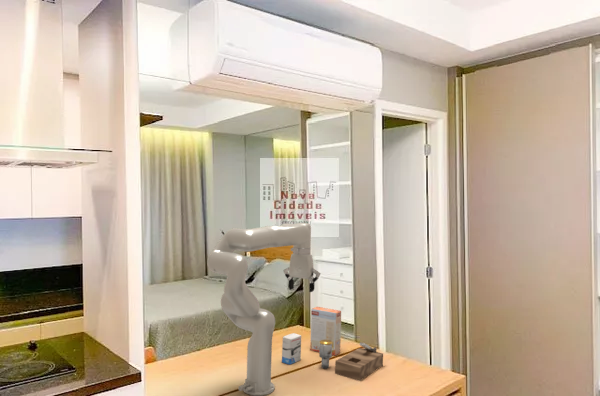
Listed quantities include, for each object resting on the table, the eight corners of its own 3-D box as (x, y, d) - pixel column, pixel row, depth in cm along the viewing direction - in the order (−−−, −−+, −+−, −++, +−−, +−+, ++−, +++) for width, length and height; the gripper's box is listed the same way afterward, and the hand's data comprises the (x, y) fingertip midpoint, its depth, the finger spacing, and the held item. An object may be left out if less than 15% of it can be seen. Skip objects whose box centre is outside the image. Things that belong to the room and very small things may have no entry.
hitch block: (359, 380, 191) (360, 363, 191) (335, 373, 198) (335, 356, 198) (382, 365, 209) (383, 349, 209) (359, 359, 216) (360, 343, 216)
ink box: (289, 365, 206) (290, 339, 206) (281, 362, 209) (282, 336, 209) (301, 360, 213) (301, 334, 212) (292, 357, 216) (293, 332, 215)
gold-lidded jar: (327, 370, 201) (327, 344, 200) (316, 367, 204) (317, 341, 204) (333, 367, 205) (334, 341, 205) (323, 364, 208) (324, 338, 208)
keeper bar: (365, 346, 204) (366, 343, 204) (358, 344, 206) (359, 342, 206) (373, 352, 210) (374, 349, 211) (367, 350, 212) (367, 347, 213)
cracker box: (340, 352, 224) (342, 310, 223) (334, 356, 218) (336, 312, 218) (315, 347, 231) (317, 305, 231) (309, 350, 226) (311, 308, 226)
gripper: (280, 251, 200) (279, 289, 200) (316, 254, 192) (316, 294, 193) (288, 248, 206) (287, 286, 207) (323, 251, 199) (322, 290, 200)
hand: (301, 290), depth 200 cm, fingers open, 9 cm apart
